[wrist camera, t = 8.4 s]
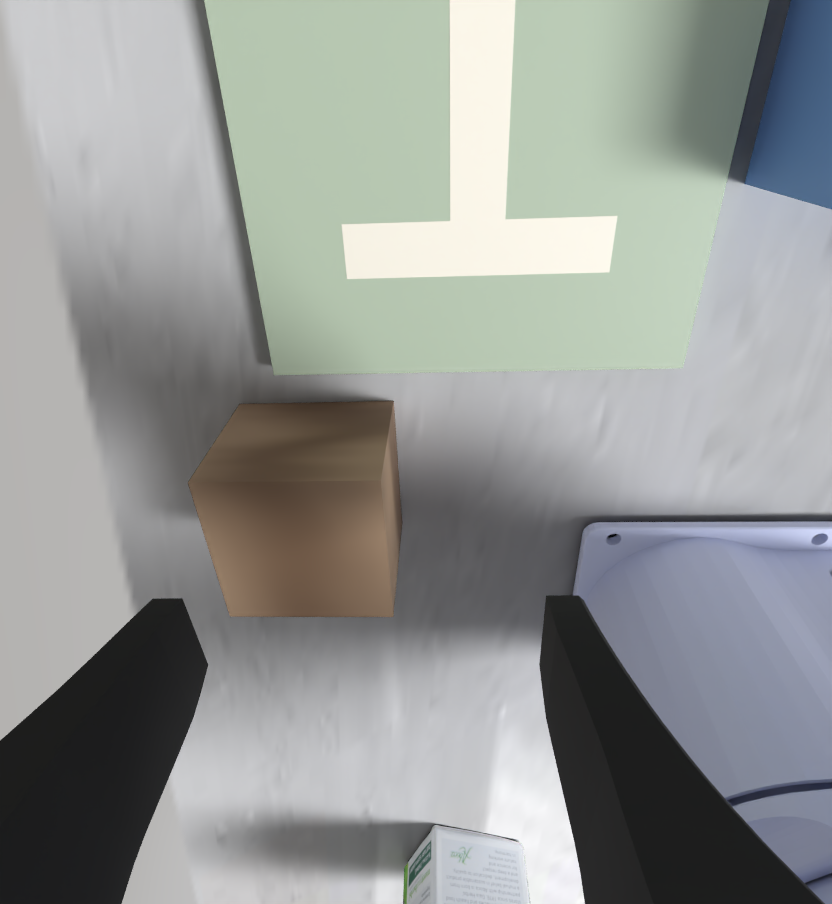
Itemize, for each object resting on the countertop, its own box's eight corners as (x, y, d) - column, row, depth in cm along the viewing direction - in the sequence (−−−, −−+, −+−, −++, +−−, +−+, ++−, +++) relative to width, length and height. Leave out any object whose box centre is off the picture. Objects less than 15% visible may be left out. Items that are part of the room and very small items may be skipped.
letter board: (812, -247, 10) (832, -265, 10) (675, 359, 17) (682, 368, 16) (177, -202, 11) (163, -216, 10) (278, 367, 17) (273, 375, 17)
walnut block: (393, 399, 18) (380, 480, 14) (402, 521, 21) (393, 616, 17) (240, 402, 18) (187, 482, 14) (268, 522, 21) (230, 616, 17)
